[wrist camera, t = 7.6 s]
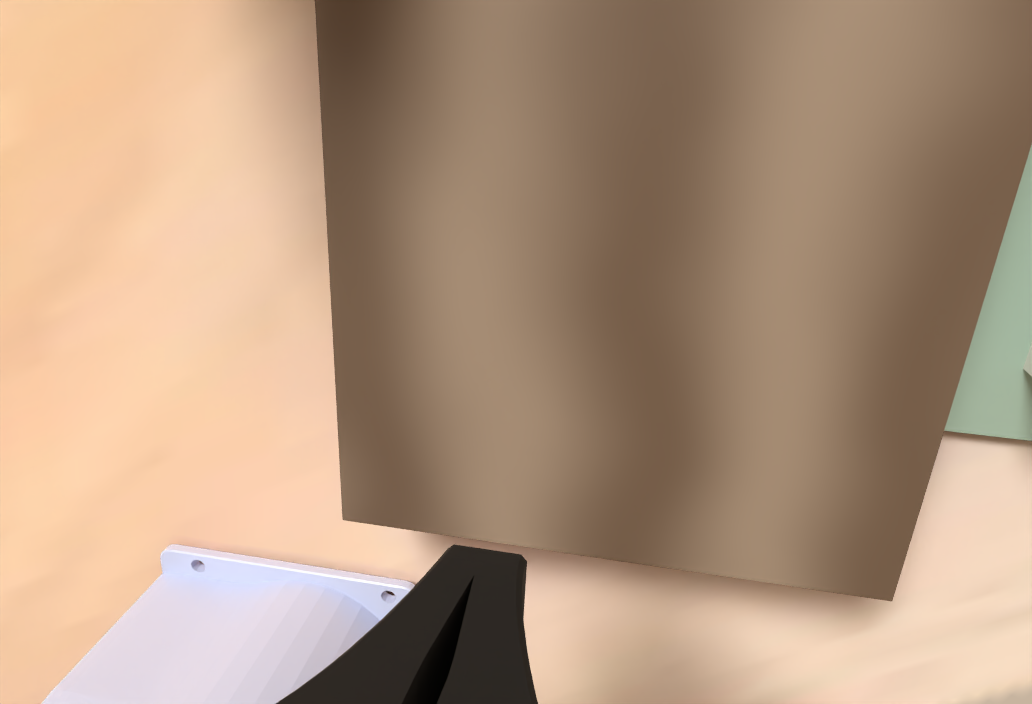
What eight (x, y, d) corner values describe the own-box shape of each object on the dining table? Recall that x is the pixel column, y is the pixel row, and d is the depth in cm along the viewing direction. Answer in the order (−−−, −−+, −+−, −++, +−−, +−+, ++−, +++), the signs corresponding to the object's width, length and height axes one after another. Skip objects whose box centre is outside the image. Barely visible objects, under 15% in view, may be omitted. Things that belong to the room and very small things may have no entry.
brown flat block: (391, 447, 24) (342, 520, 20) (378, -147, 17) (304, -199, 14) (852, 508, 22) (891, 601, 18) (1022, -139, 15) (1135, -197, 12)
